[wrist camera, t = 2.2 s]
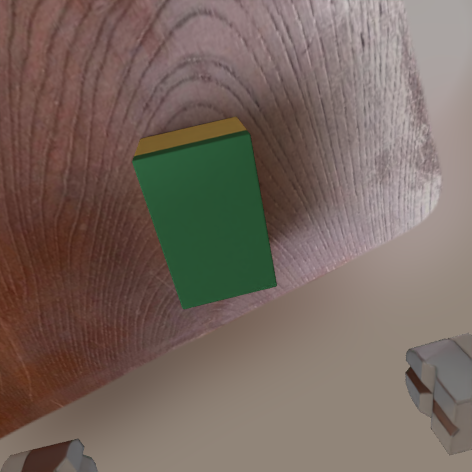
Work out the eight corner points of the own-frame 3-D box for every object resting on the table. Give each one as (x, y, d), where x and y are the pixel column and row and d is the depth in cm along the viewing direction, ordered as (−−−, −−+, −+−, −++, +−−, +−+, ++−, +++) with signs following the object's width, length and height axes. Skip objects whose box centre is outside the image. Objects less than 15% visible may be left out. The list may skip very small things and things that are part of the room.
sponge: (140, 138, 19) (131, 161, 15) (236, 116, 19) (250, 133, 15) (181, 268, 22) (182, 310, 19) (261, 248, 23) (277, 286, 19)
